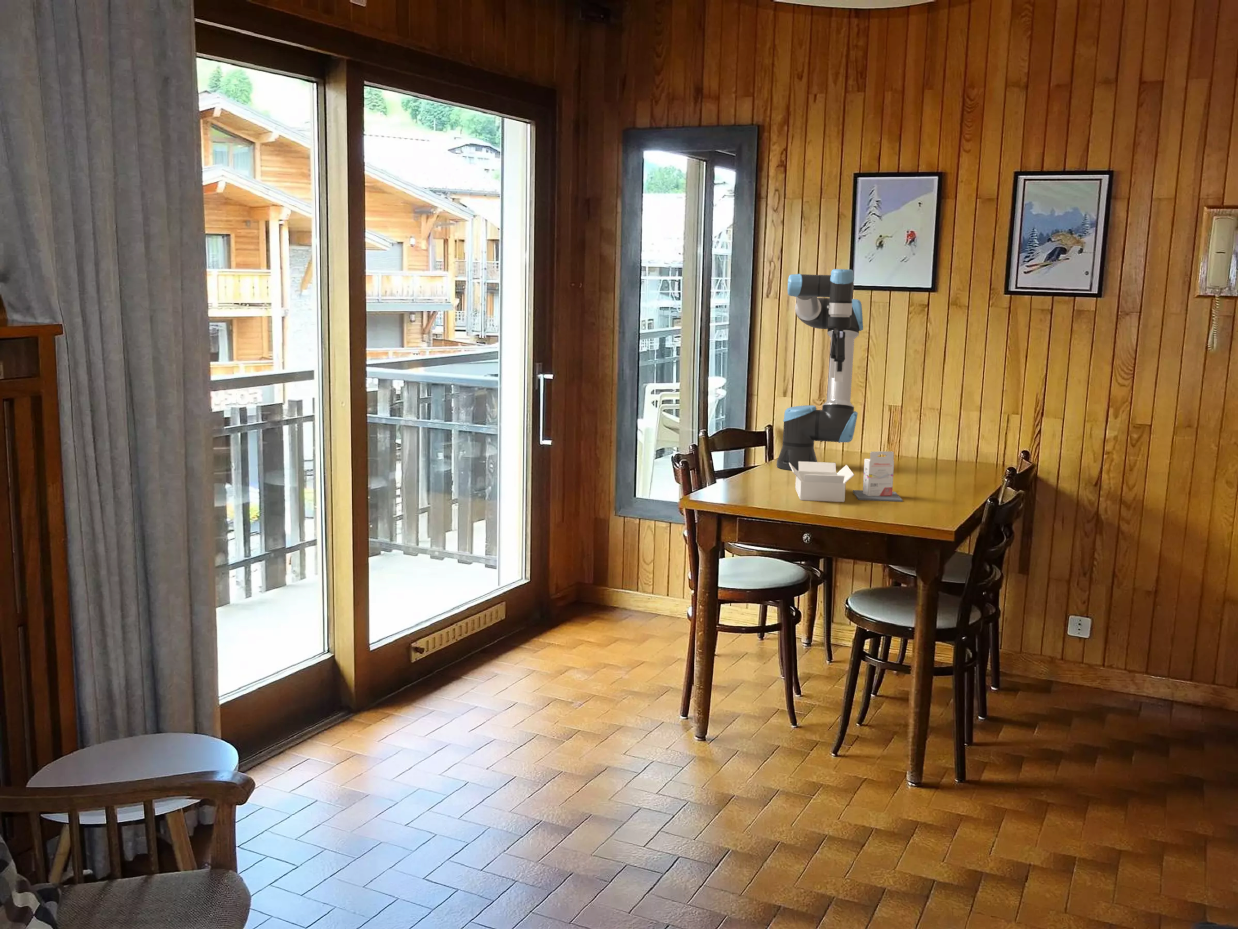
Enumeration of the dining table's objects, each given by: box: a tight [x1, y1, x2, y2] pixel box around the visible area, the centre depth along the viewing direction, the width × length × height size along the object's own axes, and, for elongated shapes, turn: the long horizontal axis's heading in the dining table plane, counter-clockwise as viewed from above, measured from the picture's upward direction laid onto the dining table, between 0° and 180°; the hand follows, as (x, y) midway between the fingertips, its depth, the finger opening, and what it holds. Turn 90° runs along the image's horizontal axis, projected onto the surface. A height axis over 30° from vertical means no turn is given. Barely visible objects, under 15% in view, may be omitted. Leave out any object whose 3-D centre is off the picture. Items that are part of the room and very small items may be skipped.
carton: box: [789, 461, 855, 503], centre depth 366 cm, size 25×19×9 cm
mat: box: [852, 489, 904, 503], centre depth 367 cm, size 14×14×1 cm
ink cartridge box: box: [862, 450, 895, 496], centre depth 366 cm, size 9×5×15 cm, turn 99°
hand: (835, 379), depth 376 cm, fingers open, 13 cm apart
